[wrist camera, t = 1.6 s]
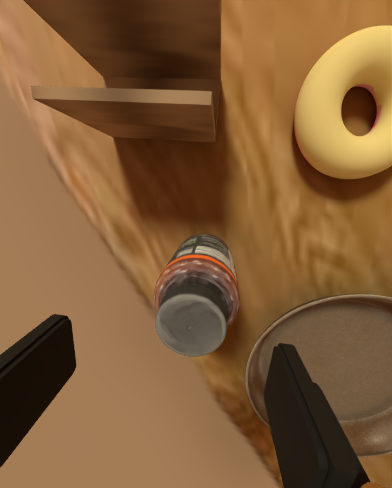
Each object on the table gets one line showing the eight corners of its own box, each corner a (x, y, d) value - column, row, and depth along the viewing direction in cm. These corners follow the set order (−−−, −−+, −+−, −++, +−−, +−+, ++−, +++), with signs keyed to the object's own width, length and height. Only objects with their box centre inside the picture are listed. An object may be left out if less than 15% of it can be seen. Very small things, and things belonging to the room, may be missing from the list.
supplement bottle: (208, 293, 23) (197, 389, 12) (167, 261, 22) (116, 330, 11) (244, 256, 21) (269, 327, 10) (200, 220, 20) (177, 255, 10)
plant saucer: (208, 340, 25) (206, 363, 21) (373, 241, 19) (404, 251, 16) (302, 445, 27) (313, 478, 24) (470, 383, 22) (512, 415, 19)
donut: (295, 186, 21) (409, 155, 18) (308, 197, 17) (458, 159, 14) (280, 73, 17) (420, 9, 14) (291, 51, 13) (491, -45, 10)
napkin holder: (221, 78, 17) (221, -26, 9) (215, 142, 18) (210, 104, 10) (110, 76, 18) (17, -20, 10) (112, 137, 19) (32, 98, 11)
